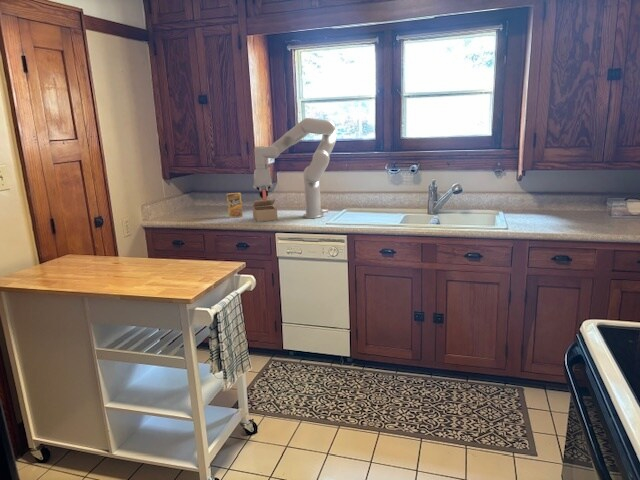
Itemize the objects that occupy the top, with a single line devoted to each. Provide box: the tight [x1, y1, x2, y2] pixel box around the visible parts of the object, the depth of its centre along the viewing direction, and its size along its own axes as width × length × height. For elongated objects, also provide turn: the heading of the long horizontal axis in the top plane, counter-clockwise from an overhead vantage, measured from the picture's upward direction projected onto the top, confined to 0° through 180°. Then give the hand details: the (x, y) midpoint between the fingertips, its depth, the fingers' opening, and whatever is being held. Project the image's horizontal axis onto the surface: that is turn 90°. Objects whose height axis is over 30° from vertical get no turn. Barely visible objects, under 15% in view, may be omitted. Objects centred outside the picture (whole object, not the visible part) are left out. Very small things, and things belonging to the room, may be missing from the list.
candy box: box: [225, 192, 244, 219], centre depth 311 cm, size 9×4×15 cm, turn 107°
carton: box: [252, 205, 278, 223], centre depth 301 cm, size 13×13×7 cm
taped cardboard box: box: [252, 188, 276, 208], centre depth 300 cm, size 12×12×7 cm
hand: (263, 197), depth 298 cm, fingers closed on taped cardboard box, 2 cm apart
